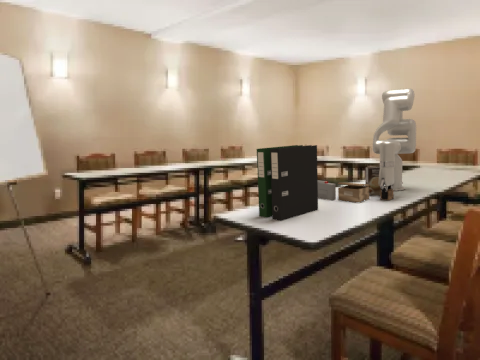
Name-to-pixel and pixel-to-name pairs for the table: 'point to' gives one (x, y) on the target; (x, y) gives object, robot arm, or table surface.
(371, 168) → the coffee box
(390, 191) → the walnut block
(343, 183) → the lid
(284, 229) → the table surface
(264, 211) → the ring binders
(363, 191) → the carton
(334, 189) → the cassette player
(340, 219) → the table surface
